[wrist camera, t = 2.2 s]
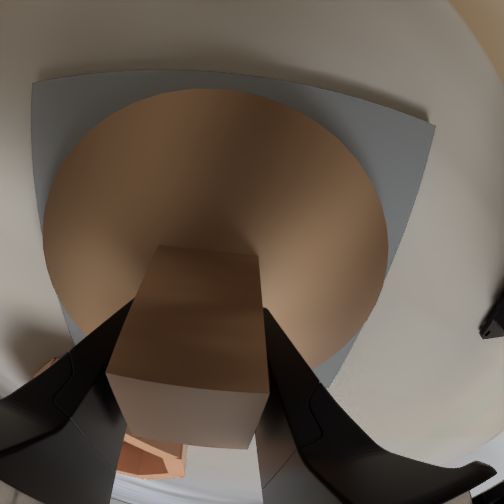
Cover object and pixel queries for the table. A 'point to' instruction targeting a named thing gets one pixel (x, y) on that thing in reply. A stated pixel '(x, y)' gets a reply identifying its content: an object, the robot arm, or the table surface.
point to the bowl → (147, 454)
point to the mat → (291, 94)
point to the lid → (212, 253)
